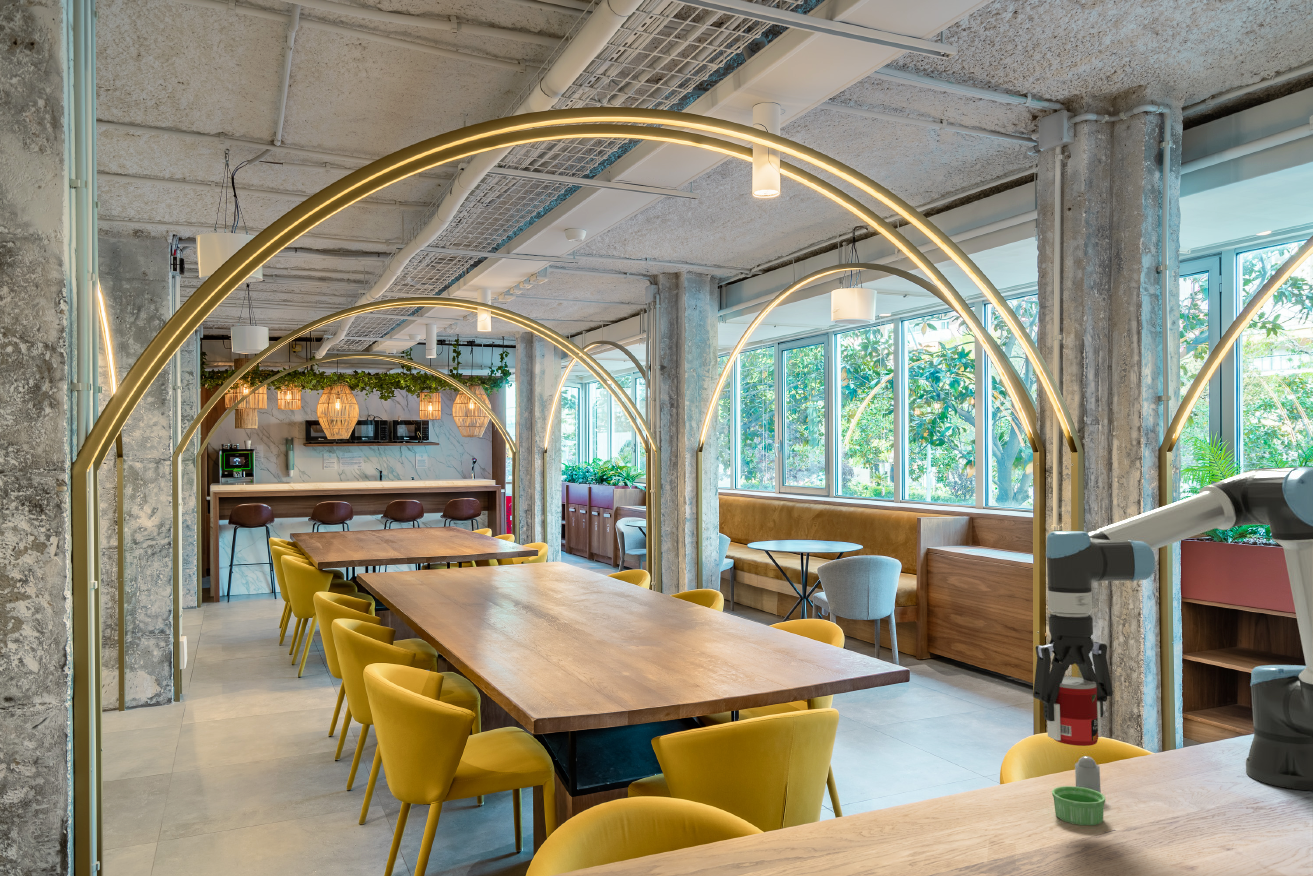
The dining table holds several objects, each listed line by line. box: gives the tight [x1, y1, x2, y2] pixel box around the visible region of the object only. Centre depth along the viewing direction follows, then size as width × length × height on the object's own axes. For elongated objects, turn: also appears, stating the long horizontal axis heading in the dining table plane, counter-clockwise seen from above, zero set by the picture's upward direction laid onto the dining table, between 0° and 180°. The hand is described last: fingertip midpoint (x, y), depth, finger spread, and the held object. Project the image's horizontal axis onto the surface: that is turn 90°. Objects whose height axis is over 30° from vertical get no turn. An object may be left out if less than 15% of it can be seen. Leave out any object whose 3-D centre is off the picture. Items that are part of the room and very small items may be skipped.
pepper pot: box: [1074, 755, 1102, 794], centre depth 176 cm, size 4×4×8 cm
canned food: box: [1053, 676, 1099, 747], centre depth 166 cm, size 8×8×11 cm
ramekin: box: [1051, 785, 1106, 826], centre depth 165 cm, size 9×9×4 cm
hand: (1074, 736), depth 166 cm, fingers closed on canned food, 8 cm apart
